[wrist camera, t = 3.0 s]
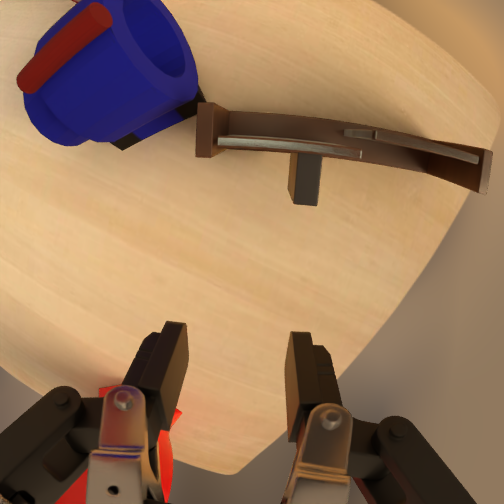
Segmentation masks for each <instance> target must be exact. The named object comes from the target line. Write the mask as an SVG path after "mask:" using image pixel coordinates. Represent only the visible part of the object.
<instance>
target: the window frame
mask: <svg viewBox="0 0 504 504" xmlns="http://www.w3.org/2000/svg"><path fill="white" fill-rule="evenodd" d="M227 135H247V136H263V137H277V138H289V139H299V140H309V141H317V142H326V143H333V144H338V145H343V146H347V147H353V148H359V149H362V153H361V160H357V159H350V158H343V157H336V156H328V155H323V157H330V158H338V159H346V160H353V161H360V162H366V163H373V164H379V165H385V166H391V167H397V168H402V169H407V170H413V171H418V172H423V173H427V174H430V175H433V176H436V177H438V178H441V179H444V180H447V181H449V182H452V183H454V184H457V185H460V186H462V187H465V188H467V189H470V190H472V191H474V192H477V193H480V194H484V195H486V194H487V189H488V183H489V177H490V170H491V163H492V155H493V152H492V151H489V150H487V149H483V148H478V147H473V146H467V145H462V144H456V143H450V142H444V141H437V140H431V139H427V138H423V137H419V136H415V135H410V134H406V133H402V132H397V131H392V130H388V129H383V128H378V127H372V126H367V125H361V124H355V123H349V122H343V121H336V120H329V119H322V118H314V117H305V116H296V115H285V114H273V113H259V112H239V111H228V110H226V109H225V108H223V107H221V106H219V105H217V104H215V103H198V109H197V129H196V157H203V158H211V157H213V156H215V155H217V154H219V153H221V152H223V151H225V150H227V149H235V150H254V151H269V152H282V153H291V152H290V151H278V150H265V149H249V148H228V147H218V136H227Z"/></svg>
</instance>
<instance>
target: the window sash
mask: <svg viewBox="0 0 504 504" xmlns="http://www.w3.org/2000/svg"><path fill="white" fill-rule="evenodd" d="M218 147H228V148H249V149H265V150H278V151H290V152H291V155H290V167H289V179H288V191H289V194H290V196H291V199H292V201H293V204H297V205H309V206H317V203H318V195H319V186H320V177H321V167H322V157H323V155H328V156H336V157H343V158H350V159H357V160H361V153H362V149H359V148H353V147H347V146H343V145H338V144H333V143H326V142H317V141H309V140H299V139H289V138H277V137H263V136H247V135H227V136H218Z"/></svg>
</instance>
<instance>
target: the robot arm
mask: <svg viewBox="0 0 504 504" xmlns="http://www.w3.org/2000/svg"><path fill="white" fill-rule="evenodd" d="M188 360H189V350H188V337H187V326H186V323H181V322H172V321H166V323H165V325H164V327H163V329H162V331H161V333H157V332H152V333H151V334H150V335H148V336H147V337H146V338H145V339H144V340H143V342H142V344H141V346H140V348H139V350H138V352H137V354H136V356H135V358H134V360H133V362H132V364H131V366H130V368H129V370H128V372H127V374H126V376H125V378H124V380H123V382H122V384H121V386H117V387H114V388H112V389H111V390H109V391H108V392H107V393H106V395H105V396H104V397H96V398H81V396H80V394H79V393H78V391H77V390H76V389H74V388H72V387H69V386H60V387H56V388H54V389H52V390H51V391H49V392H48V393H47V394H46V395H45V396H44V397H42V398H41V399H40V400H39V401H38V402H36V403H35V404H34V405H33V406H32V407H31V408H30V409H28V410H27V411H26V412H25V413H24V414H23V415H21V416H20V417H19V418H18V419H17V420H16V421H14V422H13V423H12V424H11V425H10V426H9V427H7V428H6V429H5V430H4V431H3V432H2V433H1V434H0V504H55V503H56V502H57V500H58V499H59V498H60V497H61V496H62V495H63V494H64V493H65V492H66V491H67V490H68V489H69V488H70V487H71V486H72V484H73V483H74V482H75V481H76V480H77V479H78V478H79V477H80V476H81V475H82V474H83V473H84V472H85V470H86V469H87V468H88V472H87V486H86V504H170V503H165V498H164V494H163V490H162V485H161V474H160V459H159V443H158V437H159V434H160V430H164V431H170V427H171V424H172V420H173V416H174V413H175V409H176V406H177V402H178V398H179V395H180V391H181V388H182V384H183V381H184V377H185V374H186V370H187V367H188ZM285 391H286V408H287V426H288V442H296V447H297V452H296V455H295V458H294V461H293V465H292V468H291V472H290V475H289V478H288V482H287V485H286V488H285V492H284V495H283V498H282V501H281V503H280V504H347V503H348V496H349V490H350V483H351V477H352V478H353V479H354V481H355V483H356V484H357V486H358V488H359V489H360V491H361V493H362V494H363V496H364V497H365V499H366V501H367V502H368V504H477V503H476V502H475V501H474V499H473V498H472V497H471V496H470V494H469V493H468V492H467V491H466V489H465V488H464V487H463V485H462V484H461V483H460V482H459V481H458V479H457V478H456V477H455V476H454V474H453V473H452V472H451V470H450V469H449V468H448V467H447V465H446V464H445V463H444V462H443V460H442V459H441V458H440V457H439V456H438V454H437V453H436V452H435V450H434V449H433V448H432V447H431V446H430V444H429V443H428V442H427V441H426V439H425V438H424V437H423V436H422V435H421V433H420V432H419V431H418V430H417V428H416V427H415V426H414V425H413V424H412V423H411V422H410V421H409V420H408V419H406V418H403V417H400V416H390V417H387V418H385V419H383V420H382V421H381V422H380V423H379V424H376V423H370V422H365V421H361V420H358V419H355V418H354V417H352V416H351V414H350V412H349V411H348V410H347V409H346V408H344V407H343V405H342V401H341V397H340V393H339V388H338V384H337V380H336V376H335V372H334V367H333V363H332V359H331V355H330V353H329V352H328V351H327V350H326V349H325V347H324V346H323V345H313V343H312V338H311V333H310V332H295V331H291V332H290V336H289V343H288V348H287V354H286V360H285Z"/></svg>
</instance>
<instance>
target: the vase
mask: <svg viewBox="0 0 504 504" xmlns="http://www.w3.org/2000/svg"><path fill="white" fill-rule="evenodd" d="M117 386H121V385H116V386H111V387H105V388H99V397H104V396H105V395H106V393H107V392H108V391H109V390H111V389H112V388H114V387H117ZM181 414H182V412H181V411H179V410H178V409H175V413H174V416H173V420H172V424H171V427H172V426H173V424H174V423H175V422H176V420H177V419H178V418H179V417H180V415H181ZM171 427H170V429H171ZM158 443H159V459H160V474H161V485H162V490H163V494H164V498H165V503H167V502H168V498H169V494H170V489H171V482H172V474H173V453H172V447H171V442H170V439H169V431H164V430H160V434H159V437H158ZM87 472H88V468H87V469H86V470H85V472H84V473H83V474H82V475H81V476H80V477H79V478H78V479H77V480H76V481H75V482H74V483H73V484H72V486H71V487H70V488H69V489H68V490H67V491H66V492H65V493H64V494H63V495H62V496H61V497H60V498H59V499H58V500H57V502H56V503H55V504H86V486H87Z"/></svg>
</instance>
